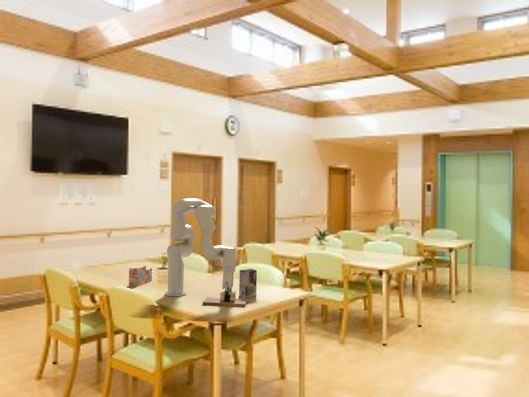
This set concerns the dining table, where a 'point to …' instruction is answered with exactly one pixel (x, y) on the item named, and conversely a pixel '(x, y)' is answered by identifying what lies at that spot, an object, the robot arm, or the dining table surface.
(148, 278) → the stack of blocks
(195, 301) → the dining table surface
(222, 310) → the dining table surface
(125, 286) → the dining table surface
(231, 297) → the block
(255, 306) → the dining table surface
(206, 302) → the board
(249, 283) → the coffee box
